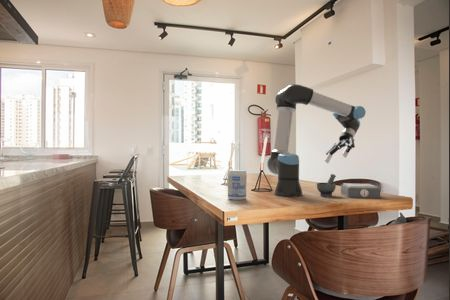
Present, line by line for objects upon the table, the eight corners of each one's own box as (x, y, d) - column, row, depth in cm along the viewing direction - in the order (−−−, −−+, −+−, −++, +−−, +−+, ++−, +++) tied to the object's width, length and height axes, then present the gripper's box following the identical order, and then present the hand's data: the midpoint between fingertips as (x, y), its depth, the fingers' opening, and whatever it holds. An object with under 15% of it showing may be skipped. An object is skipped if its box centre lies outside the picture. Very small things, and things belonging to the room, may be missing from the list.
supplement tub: (232, 200, 139) (232, 171, 139) (224, 198, 147) (224, 170, 147) (249, 199, 143) (249, 170, 143) (241, 197, 151) (241, 169, 151)
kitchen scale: (348, 197, 149) (348, 186, 149) (340, 193, 166) (340, 183, 166) (380, 198, 147) (380, 186, 147) (369, 193, 163) (369, 183, 163)
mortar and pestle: (324, 197, 149) (324, 175, 149) (313, 195, 158) (313, 173, 158) (341, 196, 153) (341, 174, 154) (329, 194, 162) (329, 173, 162)
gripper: (368, 134, 168) (356, 157, 157) (335, 146, 189) (323, 168, 178) (360, 125, 167) (347, 148, 156) (328, 138, 188) (315, 159, 177)
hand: (334, 159), depth 167 cm, fingers open, 13 cm apart
